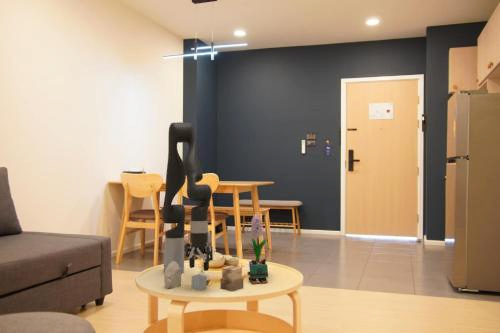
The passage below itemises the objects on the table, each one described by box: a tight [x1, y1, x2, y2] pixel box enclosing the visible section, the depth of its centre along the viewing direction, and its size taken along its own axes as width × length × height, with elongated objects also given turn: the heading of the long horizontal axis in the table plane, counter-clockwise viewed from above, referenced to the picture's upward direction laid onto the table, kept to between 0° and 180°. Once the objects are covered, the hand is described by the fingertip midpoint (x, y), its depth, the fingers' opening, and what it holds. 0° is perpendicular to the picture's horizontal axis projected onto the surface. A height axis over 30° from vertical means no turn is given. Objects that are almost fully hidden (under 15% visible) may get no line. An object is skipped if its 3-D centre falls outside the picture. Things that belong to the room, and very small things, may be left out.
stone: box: [163, 261, 182, 290], centre depth 191 cm, size 9×5×10 cm, turn 151°
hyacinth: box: [247, 214, 267, 280], centre depth 208 cm, size 9×10×30 cm
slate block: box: [191, 273, 208, 292], centre depth 188 cm, size 4×4×6 cm
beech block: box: [221, 265, 243, 281], centre depth 189 cm, size 6×6×4 cm
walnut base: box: [219, 277, 244, 292], centre depth 189 cm, size 7×7×4 cm
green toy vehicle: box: [247, 258, 269, 285], centre depth 200 cm, size 9×11×10 cm
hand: (198, 269), depth 187 cm, fingers open, 8 cm apart
